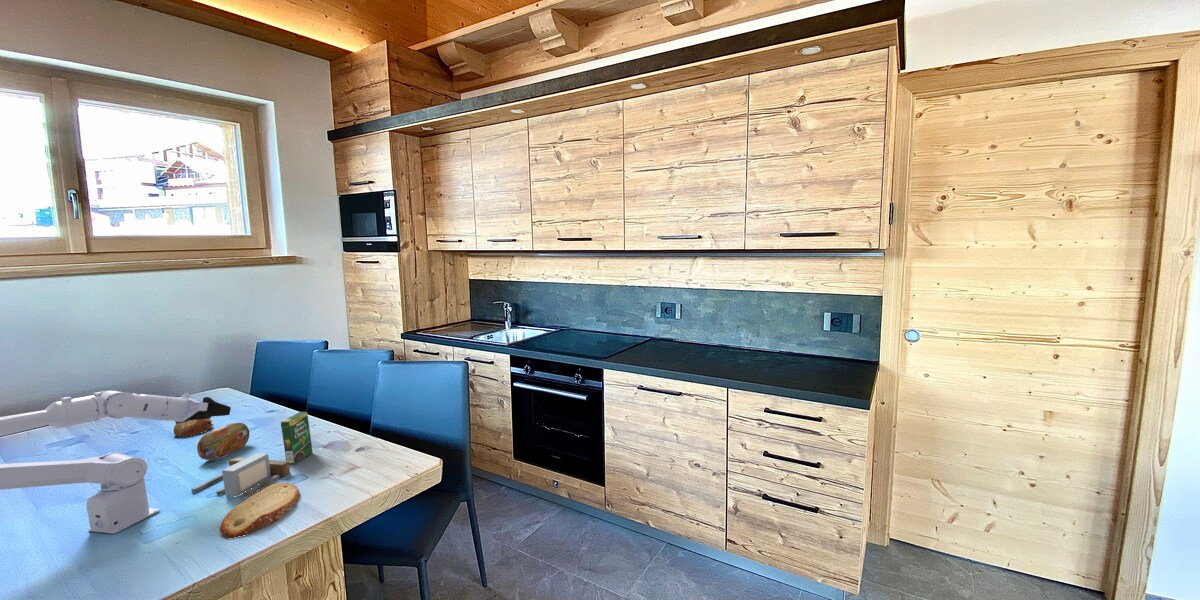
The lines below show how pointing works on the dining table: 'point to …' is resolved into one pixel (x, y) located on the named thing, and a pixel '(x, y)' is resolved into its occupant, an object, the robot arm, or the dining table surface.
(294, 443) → the coffee box
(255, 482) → the grey rectangular block
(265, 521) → the bread slice
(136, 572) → the dining table surface
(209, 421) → the bread roll
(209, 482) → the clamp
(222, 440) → the tin
